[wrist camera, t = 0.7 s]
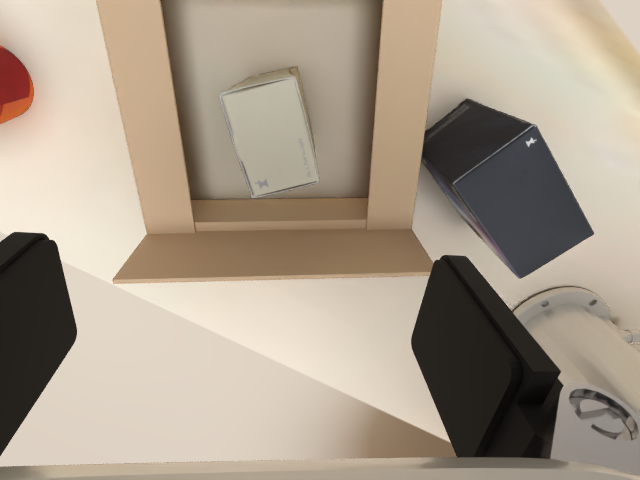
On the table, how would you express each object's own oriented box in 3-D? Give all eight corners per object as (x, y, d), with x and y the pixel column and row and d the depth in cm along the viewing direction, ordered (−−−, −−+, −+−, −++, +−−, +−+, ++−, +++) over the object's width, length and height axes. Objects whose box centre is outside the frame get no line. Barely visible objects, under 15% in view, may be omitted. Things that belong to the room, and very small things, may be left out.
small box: (405, 145, 34) (447, 184, 25) (468, 95, 33) (538, 117, 23) (464, 225, 38) (519, 284, 29) (522, 184, 37) (601, 233, 27)
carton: (420, -14, 29) (495, -46, 18) (396, 208, 37) (438, 275, 26) (123, -20, 27) (16, -59, 17) (166, 211, 36) (113, 283, 25)
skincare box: (314, 139, 34) (324, 186, 23) (264, 151, 34) (251, 203, 23) (296, 62, 31) (299, 73, 20) (242, 75, 31) (216, 94, 20)
